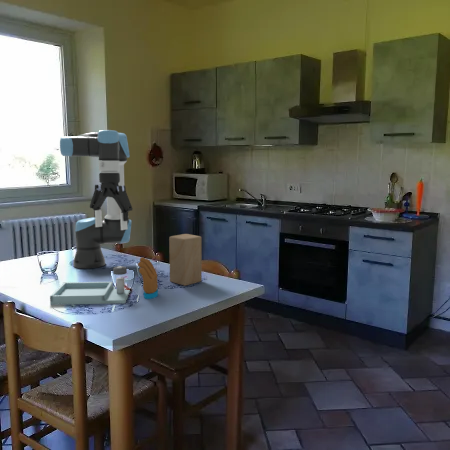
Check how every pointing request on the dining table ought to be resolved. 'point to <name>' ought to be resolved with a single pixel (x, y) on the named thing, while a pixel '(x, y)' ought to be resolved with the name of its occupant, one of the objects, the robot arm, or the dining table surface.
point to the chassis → (90, 293)
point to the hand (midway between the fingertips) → (111, 228)
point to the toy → (148, 278)
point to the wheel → (119, 270)
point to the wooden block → (185, 259)
